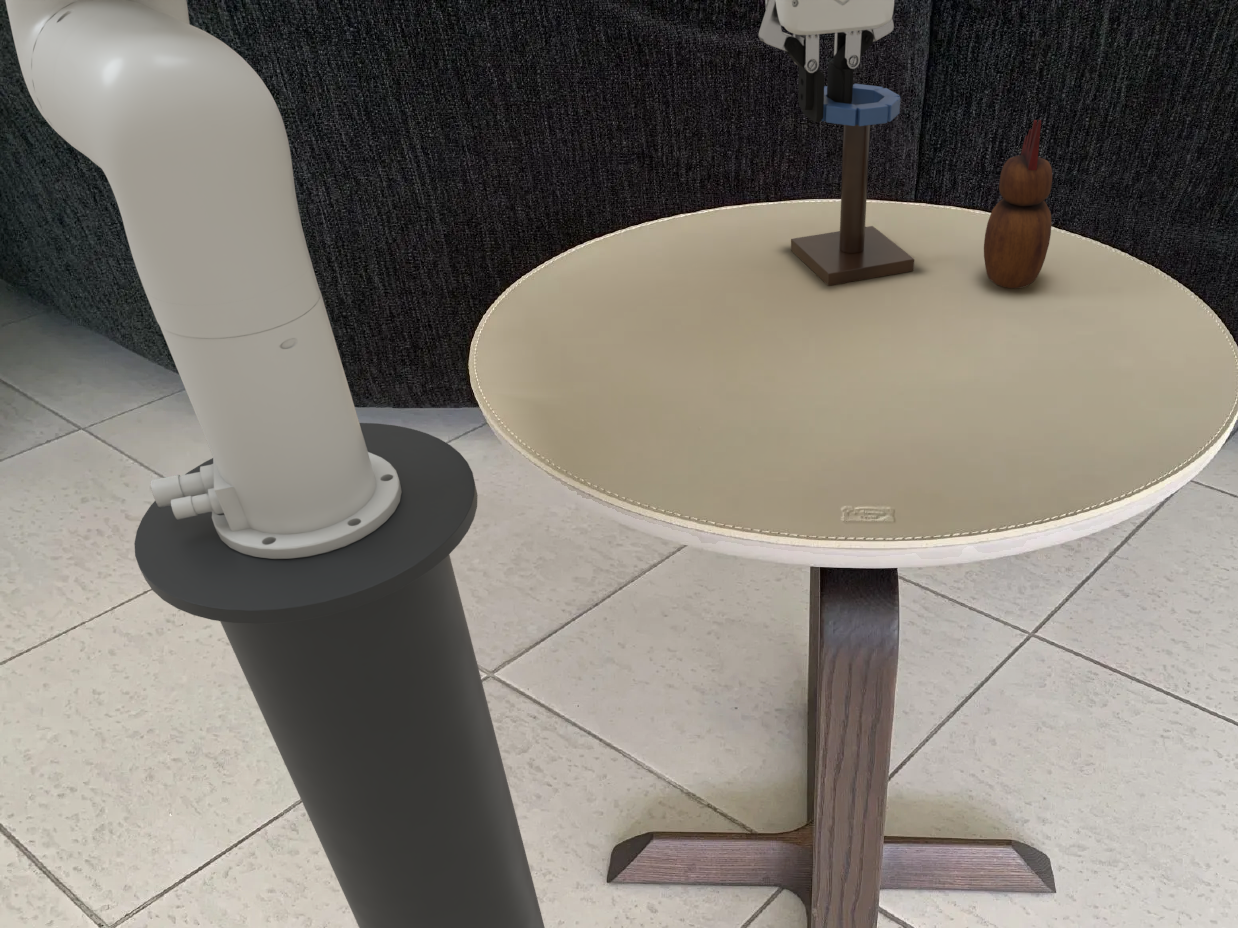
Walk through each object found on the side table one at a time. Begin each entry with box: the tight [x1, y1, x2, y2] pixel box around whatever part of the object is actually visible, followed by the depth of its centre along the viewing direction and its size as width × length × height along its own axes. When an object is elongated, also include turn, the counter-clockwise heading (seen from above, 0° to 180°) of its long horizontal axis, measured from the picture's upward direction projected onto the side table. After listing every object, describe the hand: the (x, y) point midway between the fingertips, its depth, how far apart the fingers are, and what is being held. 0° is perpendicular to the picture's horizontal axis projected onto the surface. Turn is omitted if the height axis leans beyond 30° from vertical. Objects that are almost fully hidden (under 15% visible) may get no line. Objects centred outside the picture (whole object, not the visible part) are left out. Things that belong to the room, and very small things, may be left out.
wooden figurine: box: [983, 119, 1053, 289], centre depth 96 cm, size 7×6×15 cm
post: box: [790, 124, 915, 287], centre depth 100 cm, size 9×9×13 cm
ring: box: [820, 83, 901, 126], centre depth 95 cm, size 8×8×1 cm
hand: (824, 114), depth 94 cm, fingers closed on ring, 1 cm apart
